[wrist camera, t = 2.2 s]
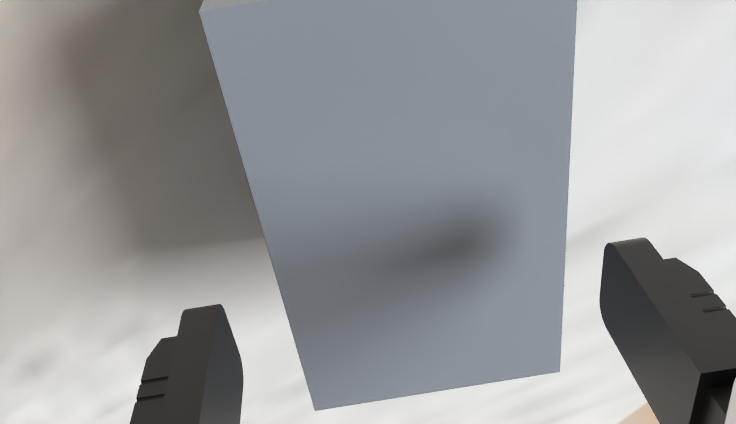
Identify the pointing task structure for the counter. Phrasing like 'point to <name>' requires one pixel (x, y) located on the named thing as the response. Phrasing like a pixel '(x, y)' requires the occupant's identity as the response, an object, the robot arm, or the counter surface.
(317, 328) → the matte grey box
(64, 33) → the counter surface
